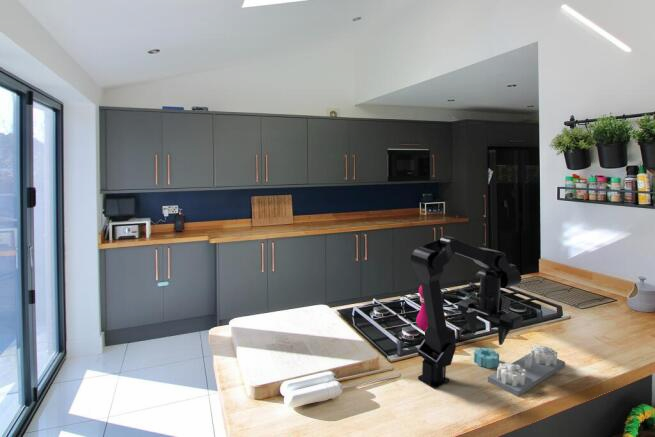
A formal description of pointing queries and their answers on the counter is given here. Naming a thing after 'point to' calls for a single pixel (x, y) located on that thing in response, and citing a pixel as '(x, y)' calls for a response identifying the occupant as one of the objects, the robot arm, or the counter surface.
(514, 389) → the gear board
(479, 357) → the teal gear
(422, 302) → the pepper mill
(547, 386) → the counter surface
